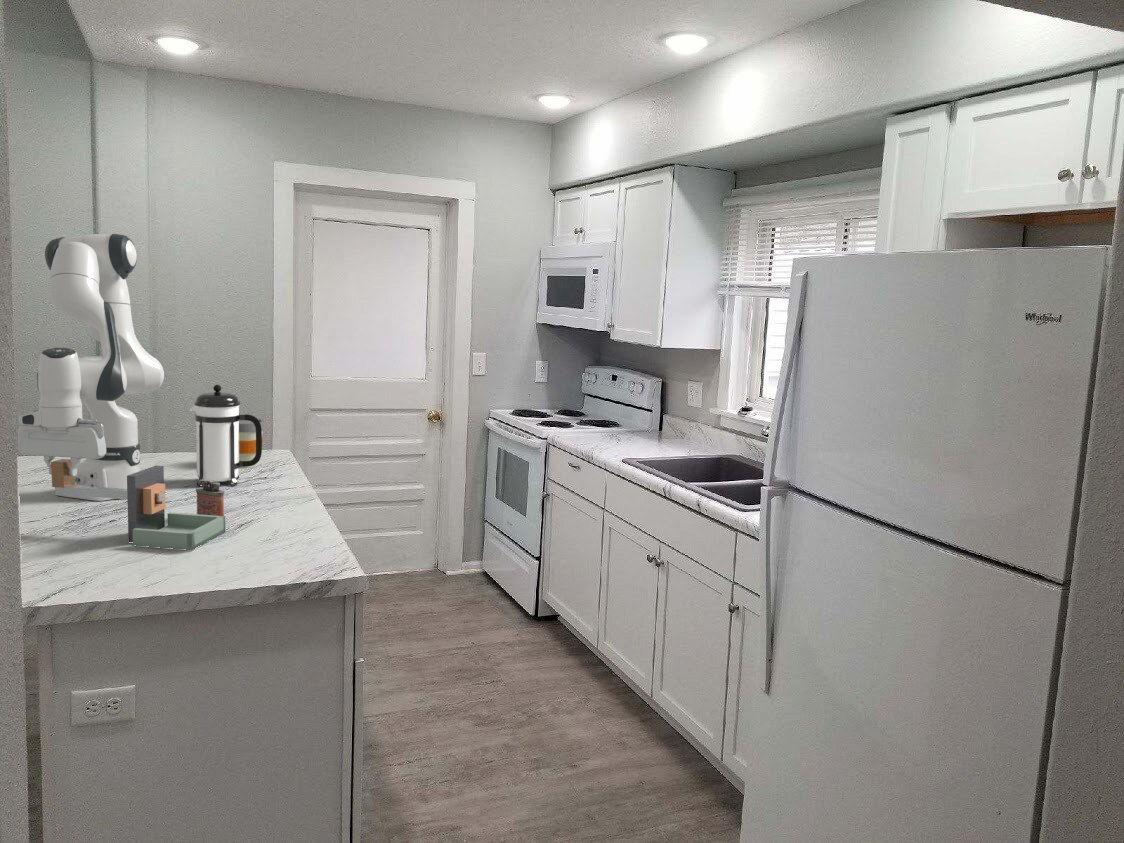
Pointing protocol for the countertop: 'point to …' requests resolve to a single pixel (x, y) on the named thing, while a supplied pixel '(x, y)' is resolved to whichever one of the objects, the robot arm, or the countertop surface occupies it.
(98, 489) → the shaft
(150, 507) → the collar
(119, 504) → the countertop surface
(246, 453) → the reusable coffee cup
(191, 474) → the countertop surface
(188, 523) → the tray
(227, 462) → the coffee press
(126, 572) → the countertop surface
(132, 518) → the bearing plate
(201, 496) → the lighter
